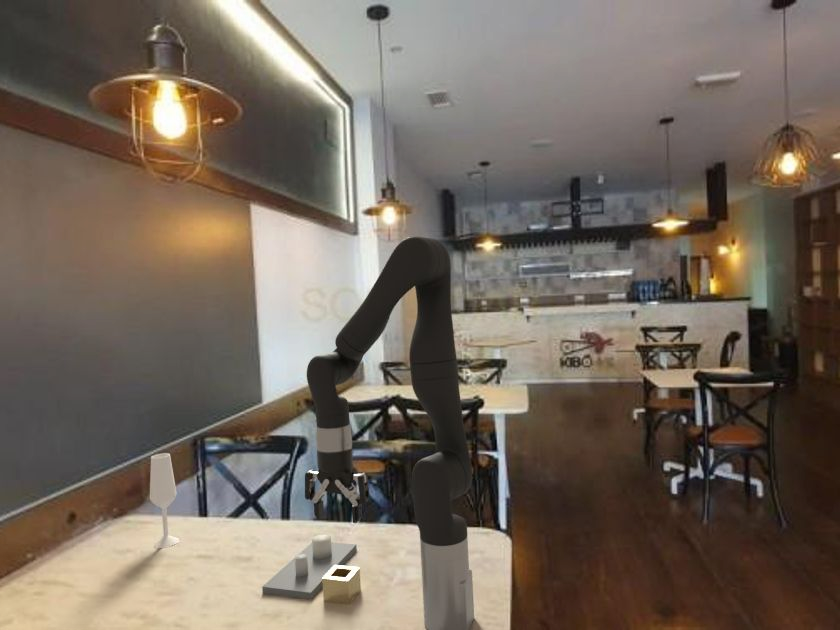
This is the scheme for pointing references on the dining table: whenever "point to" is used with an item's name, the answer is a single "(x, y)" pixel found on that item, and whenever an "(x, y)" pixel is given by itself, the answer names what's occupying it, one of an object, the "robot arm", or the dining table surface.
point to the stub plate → (309, 568)
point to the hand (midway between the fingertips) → (338, 520)
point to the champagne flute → (163, 493)
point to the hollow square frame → (341, 584)
